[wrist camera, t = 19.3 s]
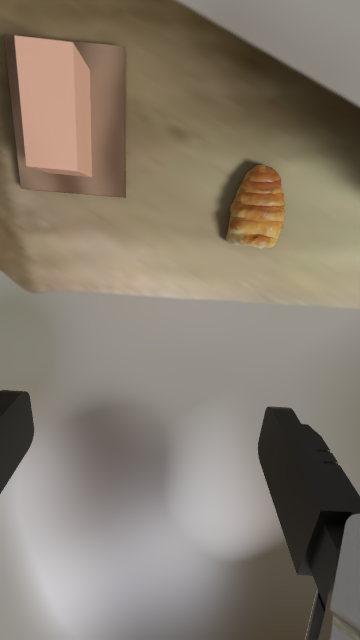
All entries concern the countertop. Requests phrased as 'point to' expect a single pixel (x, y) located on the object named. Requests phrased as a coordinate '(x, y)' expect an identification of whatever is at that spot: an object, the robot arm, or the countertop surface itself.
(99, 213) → the countertop surface
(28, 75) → the tall block
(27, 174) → the walnut board
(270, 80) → the countertop surface
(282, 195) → the pastry
